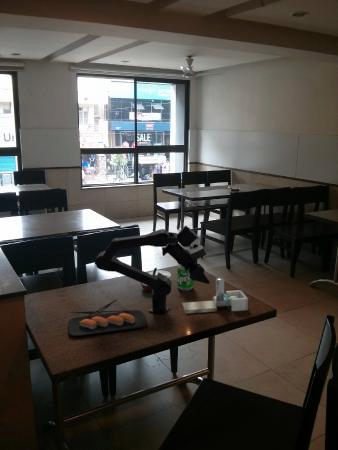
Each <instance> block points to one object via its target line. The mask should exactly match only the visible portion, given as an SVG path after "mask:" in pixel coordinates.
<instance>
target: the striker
mask: <svg viewBox="0 0 338 450" xmlns="http://www.w3.org/2000/svg"><path fill="white" fill-rule="evenodd" d="M212 301H213V302H214V304H215V306H216V307H222V306H227V307H228V306H229V307H231V306H230V299H229V298H228V296H227V295H226V293H225V278H223V277H216V278H215V295H214V296H212Z"/></svg>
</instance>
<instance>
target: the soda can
mask: <svg viewBox="0 0 338 450" xmlns="http://www.w3.org/2000/svg"><path fill="white" fill-rule="evenodd" d="M188 271H189V270H187V271H186V270H185V269H184V267H182V266H181V265H179V264H177V288H178V289H179V290H181V291H184V292H185V291H187V292H188V291H191V290H192V289H193V288H194V287H195V286H194V285H195V284H194V283H195V282H194V281H193V280H192V279H191V278H190V277H189V275H188Z"/></svg>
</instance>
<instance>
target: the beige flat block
mask: <svg viewBox="0 0 338 450" xmlns="http://www.w3.org/2000/svg"><path fill="white" fill-rule="evenodd" d="M181 307H182V309H183V311H184V313H185V314H196V313H197V314H199V313H211V312H218V308H217V307H218V306H216V305H215V304H214V302H213V300H204V301H203V300H202V301H190V302H181Z"/></svg>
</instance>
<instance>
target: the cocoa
mask: <svg viewBox="0 0 338 450" xmlns="http://www.w3.org/2000/svg"><path fill="white" fill-rule="evenodd" d="M157 270H158V267H155V268H154V269H153V270H152V271H153V275H155V273H156V271H157ZM140 284H141V288H142V290H143V291H144V292H146V293H152V289H151V288H150V287H149V286H148V285H146V284H143V283H141V282H140Z"/></svg>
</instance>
